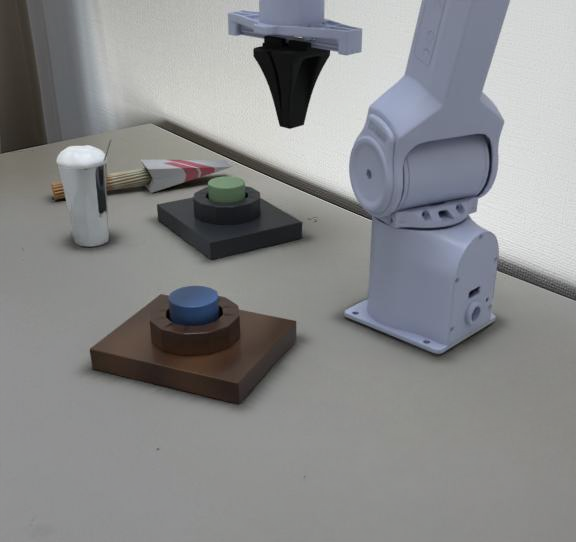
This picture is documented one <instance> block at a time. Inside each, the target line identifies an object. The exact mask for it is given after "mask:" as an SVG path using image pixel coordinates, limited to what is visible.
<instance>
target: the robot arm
mask: <svg viewBox="0 0 576 542" xmlns="http://www.w3.org/2000/svg"><path fill="white" fill-rule="evenodd" d="M420 2H421V3H420V7H419V11H418V16H417V20H416V24H415V28H414V32H413V36H412V41H411V45H410V50H409V54H408V57H407V62H406V65H405V71H404V74H403V76H402V77H400V79H399V80H397V82H396V83H394V84H393V85H392V86H391V87H390V88H388V89H387V90H386V91H385V92H383V93H382V94H381V95H380V96H379V97H377V99H376V100H374V101H373V102H371V104H370V105H369V106H368V109H367V114H366V119H365V123H364V125H363V128H362V130H361V131H360V132H359V133H358V135H357V137H356V139H355V141H354V143H353V145H352V148H351V151H350V154H349V162H348V173H349V181H350V185H351V189H352V191H353V195H354V197H355V199H356V200H357V202H358V203H359V205H360V206H361V207H362V209H363V211H364V212H366V213H367V214H368V215H370V216H371V231H370V232H371V233H370V248H369V249H370V251H369V252H370V253H369V270H368V289H367V290H368V291H367V299H365V300H362V301H360V302H358V303H357V304H355V305H353V306H351V307H349V308H346V309H345V310H344V317H345V318H347V319H349V320H352V321H355V322H357V323H360V324H362V325H364V326H367V327H370V328H371V329H374V330H376V331H379V332H381V333H383V334H386V335H389V336H392V337H394V338H396V339H398V340H401V341H404V342H406V343H407V344H410V345H413V346H415V347H418V348H420V349H423V350H425V351H428V352H430V353H432V354H436V355H440V354H443V353H445V352H447V351H448V350H450V349H451V348H453V347H455V346H456V345H458V344H459V343H461V342H463V341H464V340H466V339H467V338H469V337H471V336H472V335H474V334H476V333H478V332H479V331H482V329H484V328H486V327H487V326H489V325H491V324H492V323H494V322H495V321H496V315H495V314H494V313H492V310H493V309H492V308H493V304H494V303H493V302H494V295H495V288H496V280H497V273H498V272H497V271H498V265H499V264H498V263H499V256H500V255H499V254H500V247H499V241H498V238H497V236H496V234H495V233H493V232H492V231H490V230H488V229H487V228H484V227H483V226H481V225H480V224H478V223H477V222H475V220H474V219H472V217H471V216H470V215H471V214H475V213H477V212H478V203H479V199H481V198H483V197H485V196H486V195H487V194H488V193H489V192H490V190H491V189H492V188H493V185H494V183H495V181H496V178H497V174H498V171H499V146H500V144H499V143H500V138H501V135H502V131H503V129H504V125H505V119H504V117H503V116H502V114H501V112H500V110H499V109H498V107H497V105H496V104H495V103H494V101H493V100H491V98H490V97H488V96H487V95H486V93H484V92H483V90H484V87H485V84H486V80H487V78H488V74H489V71H490V68H491V65H492V62H493V58H494V56H495V51H496V48H497V45H498V42H499V38H500V35H501V32H502V28H503V26H504V22H505V18H506V15H507V12H508V9H509V5H510V2H511V0H421V1H420ZM325 5H326V3H325V0H258V11H253V10H252V11H251V10H244V9H243V10H236V11H229V12H227V29H228V31H227V33H228V35H229V36H233V37H235V36H236V37H238V36H246V37H251V38H257V39H261V40H262V39H263V42H262V44H261V45H260V46H255V47H253V49H252V53H253V54H252V55H253V58H254V60H255V61H256V63H257V64H258V66H259V68H260V70H261V72H262V74H263V76H264V78H265V81H266V83H267V85H268V88H269V91H270V94H271V98H272V101H273V105H274V109H275V113H276V117H277V120H278V125H279V127H280V128H285V129H289V130H291V129H296V128H298V127H302V126H304V125H305V123H306V118H307V113H308V110H309V106H310V101H311V97H312V95H313V91H314V89H315V86H316V84H317V81H318V79H319V76H320V75H321V73H322V70H323V68H324V66H325V64H326V63H327V61H328V59H329V58H330V56H331V52H336V53H338V55H341V56H351V55H355V54H360V53H362V48H363V47H362V46H363V28H362V27H357V26H351V25H347V24H344V23H341V22H338V21H335V20H331V19H328V18H325Z"/></svg>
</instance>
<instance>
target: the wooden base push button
mask: <svg viewBox="0 0 576 542" xmlns="http://www.w3.org/2000/svg"><path fill="white" fill-rule="evenodd" d="M168 298H169V295H168V294H164V293H161V294H159V295H157V296H156V297H155V298H154V299H152V300H151V301H150V302H149V303H147V304H146V305H145V306H143V307H142V308H140V309H139V310H138V311H137V312H135V313H134V314H133V315H131V316H130V317H128V319H127V320H125V321H124V322H123V323H121V324H120V325H118V326H117V327H116V328H114V329H113V330H112V331H111V332H110V333H108V334H107V335H106V336H104V337H103V338H102V339H100V340H99V341H97V342H96V343H95V344H94V345H92V346H91V347H90V348H89V354H90V362H91V368H92V370H97V371H100V372H104V373H109V374H111V375H112V374H113V375H117V376H122V377H126V378H129V379H134V380H137V381H142V382H146V383H150V384H155V385H159V386H163V387H168V388H171V389H174V390H175V389H176V390H180V391H184V392H187V393H193V394H196V395H200V396H205V397H207V398H213V399H217V400H220V401H224V402H231V403H232V404H233V403H234V404H237V405H239V404H240V403H241V402H242V401H243V400H244V399H245V398H246V397H247V396H248V394H249V393H250V392H252V390H253V389H255V387H256V386H257V384H258V383H259V382H260V381H261V380H262V379H263V378H265V376H266V375H267V373H268V372H269V371H270V370H271V369H272V368H273V367H274V366H275V365H276V363H278V361H279V360H280V359H281V358H282V357H283V356H284V354H286V352H288V350H289V349H290V348H291V347H292V346H293V345H294V344H295V343H296V341H297V320H294V319H288V318H284V317H278V316H275V315H270V314H269V315H268V314H264V313H258V312H253V311H248V310H244V309H239V305H238V304H237V303H235V302H234V301H233V300H231V299H229V298H227V297H226V296H222V295H218V298H219V319H218V320H217V321H215V322H212V323H209V324H206V325H203V326H184V325H179V324H174V323H173V322H171V320H170V311H169V299H168Z"/></svg>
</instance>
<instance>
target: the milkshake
mask: <svg viewBox="0 0 576 542" xmlns="http://www.w3.org/2000/svg"><path fill="white" fill-rule="evenodd" d="M112 140H113V139H112V138H110V139H109V140H108V144H107V147H106V151H105V152H104V151H103V150H102V149H100V148H98V147H95V146H93V145H90V144H86V145H69V146H67V147H66V148H65V149H63V150H62V151H60V152H59V153H58V155H57V157H56V166H57V169H58V173H59V177H60V182H62V186H63V190H64V194H65V198H64V199H65V203H66V206H67V211H68V212H67V213H68V216H69V221H70V226H71V231H72V233H73V234H72V235H73V239H74V243H75V244H77V245H78V246H80V247H87V248H88V247H89V248H92V247H93V248H94V247H98V246H103V245H104V244H107V243H108V242H109V236H110V235H109V232H110V231H109V213H108V212H109V210H108V208H109V207H108V191H107V174H108V160H107V159H108V157H107V156H108V153H109V150H110V147H111V143H112Z"/></svg>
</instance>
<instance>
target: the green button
mask: <svg viewBox="0 0 576 542" xmlns="http://www.w3.org/2000/svg"><path fill="white" fill-rule="evenodd" d="M245 186H246V181H245V179H243V178H241V177H238V176H229V175H228V176H218V177H213V178H211V179H210V180H208V181H207V187H208V194H209V200H210V201H214V202H219V203H232V202H237V201H242V200H244V199H245Z"/></svg>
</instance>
